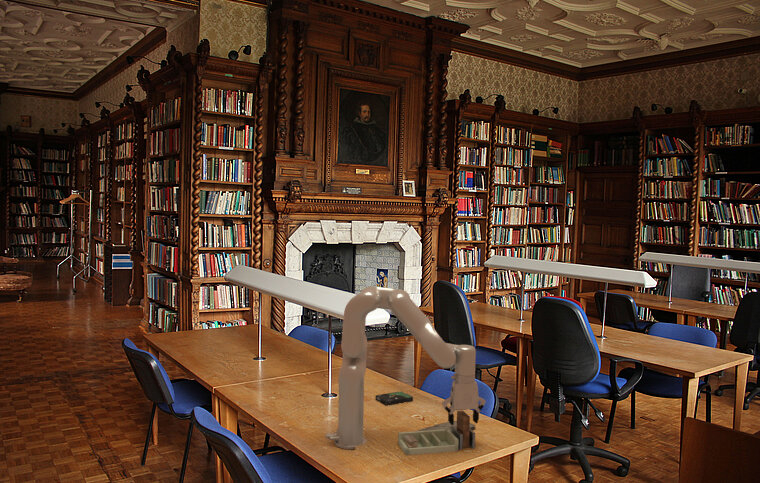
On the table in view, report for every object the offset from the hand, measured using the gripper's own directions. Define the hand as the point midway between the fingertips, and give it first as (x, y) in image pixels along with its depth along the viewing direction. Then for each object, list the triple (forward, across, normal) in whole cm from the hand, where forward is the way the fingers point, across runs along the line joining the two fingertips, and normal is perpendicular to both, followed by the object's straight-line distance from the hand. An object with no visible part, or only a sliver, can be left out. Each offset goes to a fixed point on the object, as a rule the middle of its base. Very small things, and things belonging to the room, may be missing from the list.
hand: (463, 422), depth 227 cm
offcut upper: (+6, -20, 0) cm, 21 cm away
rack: (+10, -14, 0) cm, 17 cm away
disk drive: (+10, -11, +59) cm, 61 cm away
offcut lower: (+8, -20, 0) cm, 22 cm away
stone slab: (+10, -2, +16) cm, 20 cm away
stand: (+10, 0, 0) cm, 10 cm away
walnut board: (+8, 0, 0) cm, 9 cm away
